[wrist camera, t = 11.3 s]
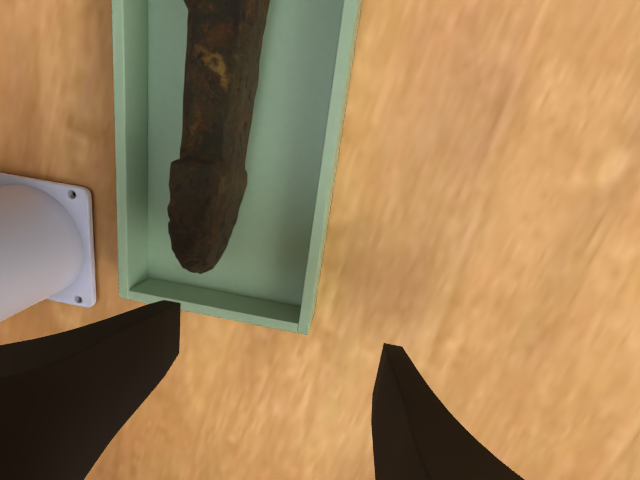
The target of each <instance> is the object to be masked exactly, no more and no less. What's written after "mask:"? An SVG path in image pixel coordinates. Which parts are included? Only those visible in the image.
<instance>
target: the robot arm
mask: <svg viewBox="0 0 640 480" xmlns="http://www.w3.org/2000/svg"><path fill="white" fill-rule="evenodd" d="M73 191H74V192H75V194H76V197H75V196H74V195H73ZM80 297H81V298H82V300H81V299H80ZM44 299H47V300H52V301H57V302H62V303H67V304H72V305H77V306H82V307H91V306H93V305H94V304H95V303H96V282H95V260H94V238H93V217H92V196H91V192H90V191H89V190H88V189H87V188H85V187H82V186H76V185H70V184H65V183H59V182H53V181H47V180H41V179H36V178H30V177H24V176H18V175H12V174H7V173H1V172H0V322H1V321H3V320H5V319H7V318H9V317H11V316H13V315H15V314H17V313H19V312H21V311H23V310H25V309H27V308H29V307H31V306H33V305H35V304H37V303H39V302H41V301H42V300H44ZM180 307H181V303H178V302H172V301H167V300H162V301H158V302H154V303H151V304H148V305H145V306H142V307H139V308H137V309H134V310H131V311H128V312H125V313H122V314H119V315H117V316H114V317H111V318H108V319H105V320H102V321H99V322H95V323H92V324H89V325H86V326H83V327H80V328H76V329H73V330H69V331H66V332H62V333H58V334H54V335H50V336H46V337H41V338H37V339H32V340H27V341H22V342H16V343H11V344H5V345H0V480H84V479H85V477H86V476H87V474H88V473H89V471H90V470H91V468H92V467H93V465H94V464H95V462H96V461H97V460H98V458H99V457H100V455H101V454H102V452H103V451H104V450H105V448H106V447H107V445H108V444H109V442H110V441H111V440H112V439H113V437H114V436H115V435H116V434H117V432H118V431H119V430H120V429H121V427H122V426H123V425H124V424H125V423H126V421H127V420H128V419H129V418H130V417H131V416H132V414H133V413H134V412H135V411H136V410H137V409H138V407H139V406H140V405H141V404H142V403H143V401H144V400H145V399H146V398H147V397H148V396H149V394H150V393H151V392H152V391H153V390H154V388H155V387H156V386H157V385H158V384H159V382H160V381H161V380H162V379H163V377H164V376H165V375H166V373H167V371H168V370H169V368H170V367H171V365H172V364H173V362H174V360H175V359H176V357H177V356H178V354H179V339H180ZM371 423H372V438H373V452H374V465H375V479H376V480H524V479H523V478H522V477H520V476H519V475H518V474H516V473H515V472H514V471H512V470H511V469H510V468H509V467H507V466H506V465H505V464H504V463H502V462H501V461H500V460H499V459H498V458H496V457H495V456H494V455H493V454H492V453H491V452H490V451H488V450H487V449H486V448H485V447H484V446H483V445H482V444H481V443H479V442H478V441H477V440H476V439H475V438H474V437H473V436H472V435H471V434H470V433H469V432H468V431H467V430H466V429H465V428H464V427H463V426H462V425H461V424H460V423H459V422H458V421H457V420H456V419H455V418H454V417H453V415H452V414H451V413H450V412H449V411H448V410H447V409H446V407H445V406H444V405H443V404H442V403H441V401H440V400H439V399H438V398H437V396H436V395H435V394H434V393H433V391H432V390H431V389H430V387H429V386H428V385H427V383H426V382H425V380H424V379H423V378H422V376H421V375H420V373H419V372H418V370H417V369H416V367H415V366H414V364H413V363H412V361H411V359H410V358H409V356H408V355H407V353H406V352H405V350H404V349H403V347H401V346H396V345H391V344H386V343H384V345H383V350H382V354H381V359H380V363H379V368H378V372H377V377H376V381H375V386H374V390H373V398H372V420H371Z"/></svg>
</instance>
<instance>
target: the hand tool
mask: <svg viewBox="0 0 640 480" xmlns="http://www.w3.org/2000/svg"><path fill="white" fill-rule="evenodd" d="M184 2H185V5H186V7H187V8H188V18H187V46H186V58H185V75H184V91H183V122H182V139H181V146H180V159H177V160H174V161H173V162H171V165H170V177H169V191H170V202H169V205H168V207H167V212H168V217H169V219H170V221H169V223H168V233H169V235H170V239H171V249H172V251H173V252H174V254H175V257H176V258H177V259H178V262H179V263H180V265H181V266H182V268H183V269H187V271H189V272H192V273H199V274H203V273H205V272H208V271H209V270H212V269H213V268H214V267H215V265H216V264H217V263H218V262H219V260H220V259H221V257H222V255H223V253H224V251H225V249H226V248H227V245H228V242H229V239H230V237H231V235H232V231H233V228H234V226H235V225H236V222H237V218H238V212H239V209H240V205H241V202H242V200H243V196H244V192H245V189H246V186H247V171H246V170H245V159H246V153H247V146H248V140H249V133H250V128H251V123H252V115H253V108H254V100H255V96H256V92H257V87H258V80H259V64H260V56H261V49H262V42H263V35H264V31H265V27H266V23H267V22H266V19H267V14H268V8H269V3H270V0H184Z"/></svg>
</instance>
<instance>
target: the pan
mask: <svg viewBox="0 0 640 480" xmlns="http://www.w3.org/2000/svg"><path fill="white" fill-rule="evenodd" d="M111 2H112V41H113V81H114V121H115V160H116V200H117V240H118V279H119V297H120V298H124V299H129V300H134V301H139V302H144V303H149V304H151V303H154V302H158V301H162V300H167V301H172V302H178V303H181V307H180V310H184V311H189V312H194V313H199V314H204V315H209V316H214V317H219V318H224V319H229V320H234V321H239V322H245V323H250V324H255V325H260V326H265V327H270V328H275V329H280V330H285V331H290V332H295V333H300V334H305V335H308V332H309V329H310V326H311V322H312V319H313V316H314V312H315V305H316V298H317V292H318V285H319V279H320V272H321V266H322V259H323V253H324V246H325V240H326V233H327V227H328V220H329V214H330V207H331V200H332V194H333V187H334V181H335V174H336V168H337V161H338V155H339V148H340V142H341V135H342V129H343V122H344V116H345V109H346V102H347V96H348V89H349V83H350V76H351V70H352V63H353V57H354V50H355V44H356V37H357V31H358V24H359V18H360V11H361V4H362V0H270V3H269V8H268V14H267V19H266V22H267V23H266V27H265V31H264V35H263V42H262V49H261V56H260V64H259V80H258V87H257V92H256V96H255V100H254V108H253V115H252V123H251V128H250V133H249V140H248V146H247V153H246V159H245V170H246V171H247V186H246V189H245V192H244V196H243V200H242V202H241V205H240V209H239V212H238V218H237V222H236V225H235V226H234V228H233V231H232V235H231V237H230V239H229V242H228V245H227V248H226V249H225V251H224V253H223V255H222V257H221V259H220V260H219V262H218V263H217V264H216V265H215V267H214V268H213V269H212V270H209V271H208V272H205V273H203V274H199V273H192V272H189V271H187V269H183V268H182V266H181V265H180V263H179V262H178V259H177V258H176V257H175V254H174V252H173V251H172V249H171V239H170V235H169V233H168V223H169V221H170V219H169V217H168V212H167V207H168V205H169V202H170V191H169V177H170V165H171V162H173V161H174V160H177V159H180V146H181V139H182V122H183V91H184V75H185V58H186V46H187V18H188V8H187V7H186V5H185V2H184V0H111Z"/></svg>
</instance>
